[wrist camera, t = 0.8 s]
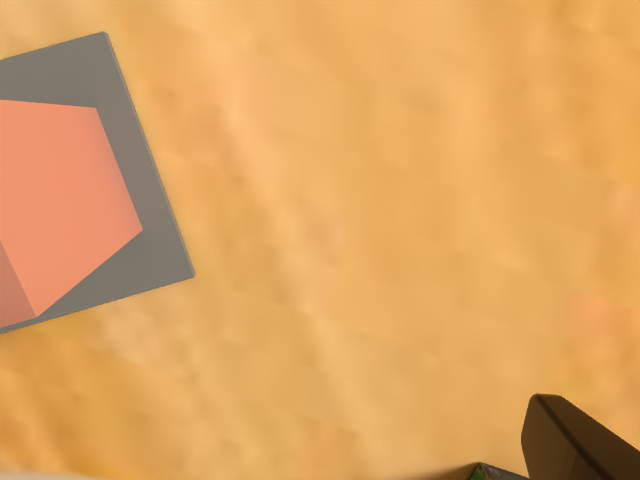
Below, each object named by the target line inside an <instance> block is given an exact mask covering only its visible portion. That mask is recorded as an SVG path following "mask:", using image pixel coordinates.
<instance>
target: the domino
mask: <svg viewBox="0 0 640 480" xmlns="http://www.w3.org/2000/svg"><path fill="white" fill-rule="evenodd" d="M142 230H143V229H142V226H141V224H140V221H139V218H138V216H137V213H136V211H135V208H134V206H133V203H132V200H131V198H130V195H129V193H128V190H127V187H126V185H125V182H124V180H123V177H122V175H121V172H120V169H119V167H118V164H117V162H116V159H115V156H114V154H113V151H112V149H111V146H110V144H109V141H108V138H107V136H106V133H105V131H104V128H103V126H102V123H101V120H100V118H99V115H98V113H97V110H96V108H92V107H80V106H69V105H57V104H46V103H35V102H23V101H12V100H0V328H2V327H6V326H9V325H12V324H16V323H19V322H23V321H26V320H29V319H33V318H36V317H38V316H39V315H40V314H41V313H43V312H44V311H45V310H46V309H47V308H49V307H50V306H51V305H52V304H54V303H55V302H56V301H57V300H58V299H60V298H61V297H62V296H63V295H65V294H66V293H67V292H68V291H69V290H71V289H72V288H73V287H74V286H75V285H77V284H78V283H79V282H80V281H82V280H83V279H84V278H85V277H86V276H88V275H89V274H90V273H91V272H92V271H94V270H95V269H96V268H97V267H99V266H100V265H101V264H102V263H103V262H105V261H106V260H107V259H108V258H110V257H111V256H112V255H113V254H114V253H116V252H117V251H118V250H119V249H120V248H122V247H123V246H124V245H125V244H127V243H128V242H129V241H130V240H131V239H133V238H134V237H135V236H136V235H138V234H139V233H140V232H141V231H142Z"/></svg>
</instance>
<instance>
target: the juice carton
mask: <svg viewBox="0 0 640 480" xmlns="http://www.w3.org/2000/svg"><path fill="white" fill-rule="evenodd" d="M470 480H530V478H527V477H523V476H521V475H518V474H515V473H512V472H508V471H506V470H503V469H499V468H496V467H494V466H491V465H487V464H485V463H481V464H479V466H478V467H477V468H476V469H475V471H474V474H473V475H472V477H471V479H470Z"/></svg>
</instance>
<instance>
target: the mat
mask: <svg viewBox="0 0 640 480" xmlns="http://www.w3.org/2000/svg"><path fill="white" fill-rule="evenodd" d="M0 100H12V101H23V102H35V103H46V104H57V105H69V106H80V107H92V108H96V110H97V113H98V115H99V118H100V120H101V123H102V126H103V128H104V131H105V133H106V136H107V138H108V141H109V144H110V146H111V149H112V151H113V154H114V156H115V159H116V162H117V164H118V167H119V169H120V172H121V175H122V177H123V180H124V182H125V185H126V187H127V190H128V193H129V195H130V198H131V200H132V203H133V206H134V208H135V211H136V213H137V216H138V218H139V221H140V224H141V226H142V229H143V230H142V231H141V232H140V233H139V234H138V235H136V236H135V237H134V238H133V239H131V240H130V241H129V242H128V243H127V244H125V245H124V246H123V247H122V248H120V249H119V250H118V251H117V252H116V253H114V254H113V255H112V256H111V257H110V258H108V259H107V260H106V261H105V262H103V263H102V264H101V265H100V266H99V267H97V268H96V269H95V270H94V271H92V272H91V273H90V274H89V275H88V276H86V277H85V278H84V279H83V280H82V281H80V282H79V283H78V284H77V285H75V286H74V287H73V288H72V289H71V290H69V291H68V292H67V293H66V294H65V295H63V296H62V297H61V298H60V299H58V300H57V301H56V302H55V303H54V304H52V305H51V306H50V307H49V308H47V309H46V310H45V311H44V312H43V313H41V314H40V315H39V316H38V317H36V318H33V319H29V320H26V321H23V322H19V323H16V324H12V325H9V326H6V327H2V328H0V334H2V333H6V332H9V331H12V330H16V329H19V328H23V327H26V326H30V325H33V324H36V323H40V322H43V321H47V320H50V319H53V318H57V317H60V316H64V315H67V314H70V313H74V312H77V311H81V310H84V309H87V308H91V307H94V306H98V305H101V304H104V303H108V302H111V301H115V300H118V299H121V298H125V297H128V296H132V295H135V294H139V293H142V292H145V291H149V290H152V289H156V288H159V287H162V286H166V285H169V284H173V283H176V282H179V281H183V280H186V279H190V278H193V277H194V276H195V271H194V269H193V266H192V263H191V260H190V258H189V255H188V252H187V250H186V247H185V244H184V241H183V239H182V236H181V233H180V230H179V228H178V225H177V222H176V219H175V217H174V214H173V211H172V209H171V206H170V203H169V200H168V198H167V195H166V192H165V189H164V187H163V184H162V181H161V179H160V176H159V173H158V170H157V168H156V165H155V162H154V159H153V157H152V154H151V151H150V148H149V146H148V143H147V140H146V138H145V135H144V132H143V129H142V127H141V124H140V121H139V118H138V116H137V113H136V110H135V108H134V105H133V102H132V99H131V97H130V94H129V91H128V88H127V86H126V83H125V80H124V77H123V75H122V72H121V69H120V67H119V64H118V61H117V58H116V56H115V53H114V50H113V47H112V45H111V42H110V39H109V37H108V34H107V33H106V32H100V33H96V34H93V35H89V36H86V37H82V38H78V39H75V40H71V41H68V42H64V43H60V44H57V45H53V46H50V47H46V48H42V49H39V50H35V51H32V52H28V53H24V54H21V55H17V56H13V57H10V58H6V59H3V60H0Z"/></svg>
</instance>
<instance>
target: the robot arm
mask: <svg viewBox="0 0 640 480" xmlns="http://www.w3.org/2000/svg"><path fill="white" fill-rule="evenodd" d="M521 445H522V451H523V454H524V458H525V462H526V466H527V470H528V474H529V477H530V480H640V451H639V450H637V449H636V448H634V447H633V446H632V445H630V444H629V443H627V442H626V441H624V440H623V439H622V438H620V437H619V436H617V435H616V434H615V433H613V432H612V431H610V430H609V429H607V428H606V427H605V426H603V425H602V424H600V423H599V422H597V421H596V420H595V419H593V418H592V417H590V416H589V415H587V414H586V413H585V412H583V411H582V410H580V409H579V408H578V407H576V406H575V405H573V404H572V403H570V402H569V401H568V400H566V399H565V398H563V397H562V396H559V395H552V394H534V395H533V396H532V397H531V398H530V400H529V404H528V408H527V412H526V416H525V420H524V425H523V429H522V434H521Z"/></svg>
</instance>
